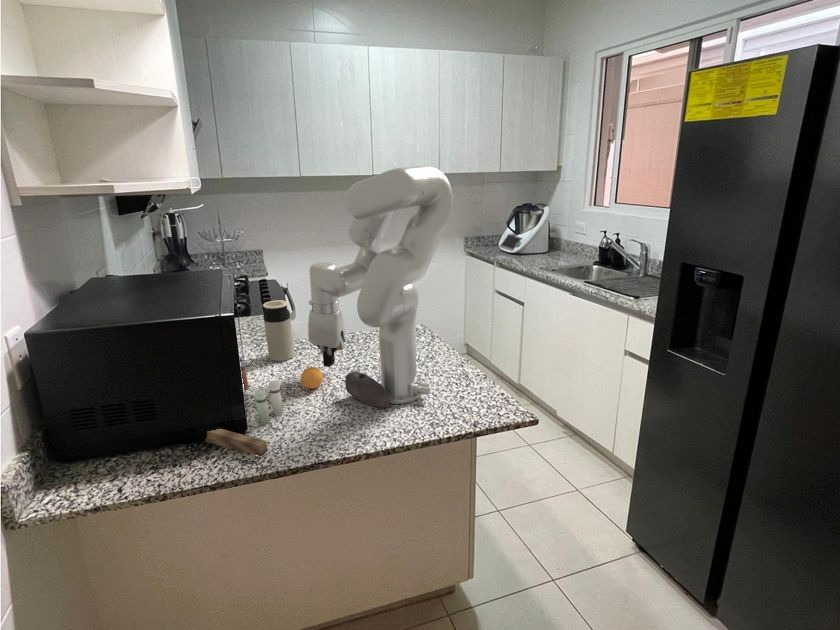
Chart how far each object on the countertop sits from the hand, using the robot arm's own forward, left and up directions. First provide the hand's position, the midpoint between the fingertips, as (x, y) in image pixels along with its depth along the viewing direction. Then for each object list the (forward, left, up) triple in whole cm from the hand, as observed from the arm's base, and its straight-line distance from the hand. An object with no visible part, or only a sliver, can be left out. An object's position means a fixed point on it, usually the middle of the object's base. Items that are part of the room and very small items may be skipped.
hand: (329, 364), depth 144 cm
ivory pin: (-1, +25, -3) cm, 25 cm away
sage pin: (-1, +30, -3) cm, 30 cm away
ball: (-1, +10, 0) cm, 10 cm away
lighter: (+19, +18, -3) cm, 26 cm away
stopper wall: (-1, +40, -3) cm, 40 cm away
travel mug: (+21, -4, -3) cm, 22 cm away
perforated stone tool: (-20, +11, -3) cm, 23 cm away
